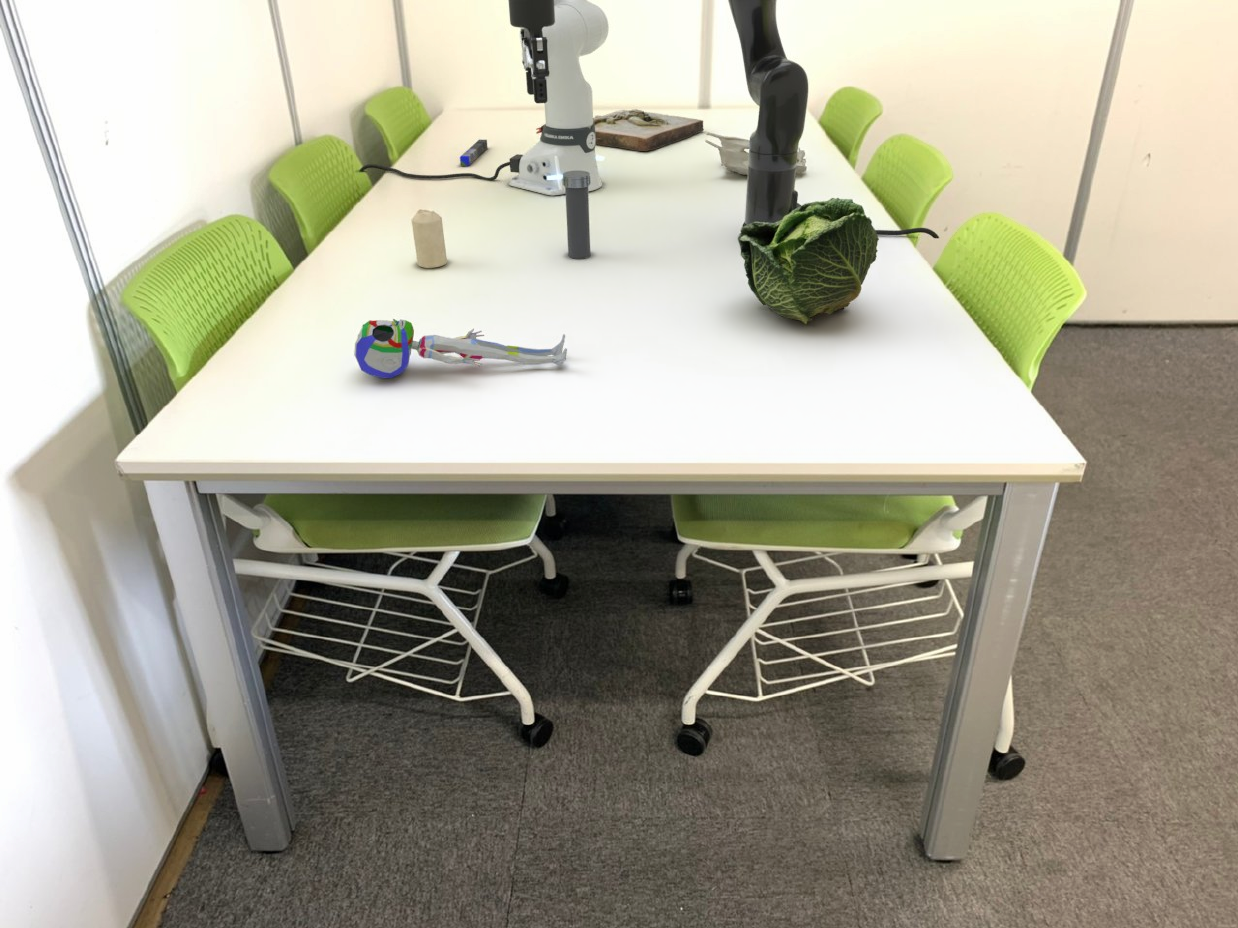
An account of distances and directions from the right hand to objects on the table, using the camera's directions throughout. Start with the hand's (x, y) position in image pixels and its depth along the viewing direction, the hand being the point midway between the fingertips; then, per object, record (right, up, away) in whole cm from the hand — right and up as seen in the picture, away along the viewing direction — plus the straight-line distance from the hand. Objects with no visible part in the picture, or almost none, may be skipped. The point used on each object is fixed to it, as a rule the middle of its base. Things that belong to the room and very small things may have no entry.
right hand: (537, 98), depth 156 cm
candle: (-21, -26, +14) cm, 36 cm away
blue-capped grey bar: (-25, +19, +84) cm, 90 cm away
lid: (+6, -11, +9) cm, 15 cm away
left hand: (+29, +36, +20) cm, 50 cm away
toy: (-9, -50, -24) cm, 56 cm away
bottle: (+7, -23, +17) cm, 30 cm away
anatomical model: (+48, +9, +66) cm, 82 cm away
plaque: (+19, +31, +103) cm, 109 cm away
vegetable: (+45, -39, -8) cm, 60 cm away
